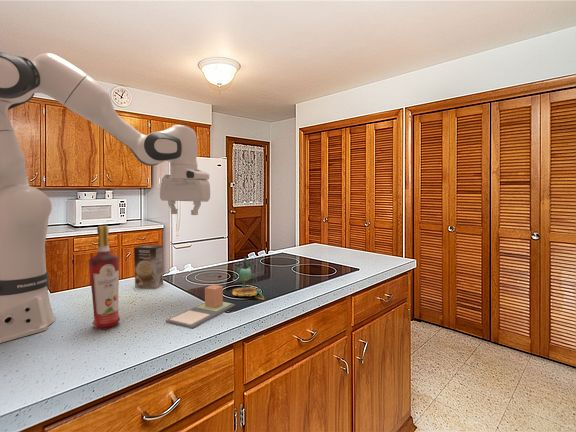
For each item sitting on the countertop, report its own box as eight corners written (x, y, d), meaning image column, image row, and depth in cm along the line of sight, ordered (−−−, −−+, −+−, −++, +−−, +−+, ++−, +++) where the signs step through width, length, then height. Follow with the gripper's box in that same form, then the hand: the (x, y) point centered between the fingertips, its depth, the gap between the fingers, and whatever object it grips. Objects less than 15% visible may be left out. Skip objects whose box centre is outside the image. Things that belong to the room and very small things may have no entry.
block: (215, 308, 103) (214, 289, 103) (205, 306, 105) (204, 287, 105) (222, 304, 107) (222, 286, 107) (213, 302, 109) (212, 284, 108)
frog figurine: (246, 305, 110) (243, 260, 110) (224, 296, 124) (222, 257, 125) (271, 299, 115) (267, 257, 115) (247, 292, 130) (244, 254, 130)
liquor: (117, 318, 97) (113, 224, 95) (124, 326, 92) (121, 226, 90) (89, 325, 92) (84, 226, 90) (94, 333, 87) (90, 228, 85)
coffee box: (134, 288, 128) (132, 247, 127) (142, 283, 135) (141, 244, 133) (156, 288, 127) (155, 247, 126) (164, 284, 134) (163, 245, 132)
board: (192, 328, 90) (192, 325, 90) (165, 322, 94) (165, 319, 94) (235, 306, 108) (235, 303, 108) (210, 301, 112) (210, 299, 112)
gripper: (155, 174, 115) (155, 213, 115) (200, 173, 105) (200, 216, 106) (169, 175, 120) (169, 213, 121) (213, 174, 111) (213, 215, 112)
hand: (184, 214), depth 113 cm, fingers open, 8 cm apart
